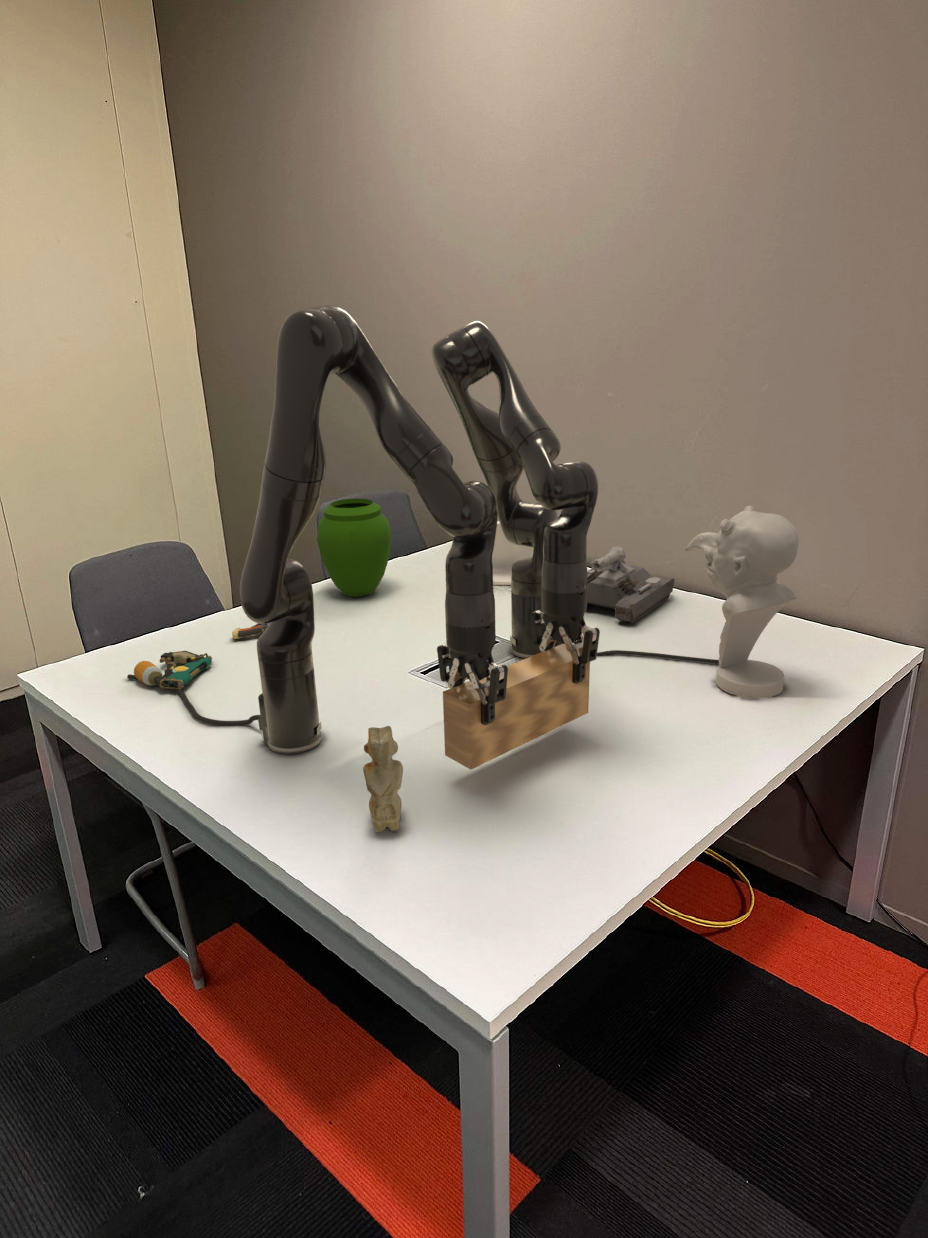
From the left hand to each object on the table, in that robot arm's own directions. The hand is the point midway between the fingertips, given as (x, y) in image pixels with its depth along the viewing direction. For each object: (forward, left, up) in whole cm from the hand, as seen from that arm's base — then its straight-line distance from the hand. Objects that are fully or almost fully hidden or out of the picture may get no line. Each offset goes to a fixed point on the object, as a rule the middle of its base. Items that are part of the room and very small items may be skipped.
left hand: (472, 715), depth 134 cm
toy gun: (-75, +45, -12) cm, 88 cm away
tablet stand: (-31, +104, -12) cm, 109 cm away
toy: (-1, +89, -12) cm, 90 cm away
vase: (-67, +75, -12) cm, 102 cm away
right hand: (+9, +19, 0) cm, 21 cm away
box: (+4, +10, -7) cm, 13 cm away
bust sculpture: (+32, +54, -12) cm, 64 cm away
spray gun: (-75, +15, -12) cm, 78 cm away
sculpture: (-7, -16, -12) cm, 21 cm away
